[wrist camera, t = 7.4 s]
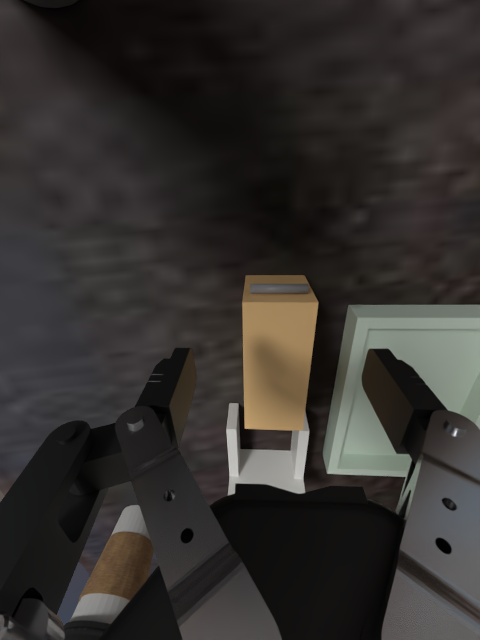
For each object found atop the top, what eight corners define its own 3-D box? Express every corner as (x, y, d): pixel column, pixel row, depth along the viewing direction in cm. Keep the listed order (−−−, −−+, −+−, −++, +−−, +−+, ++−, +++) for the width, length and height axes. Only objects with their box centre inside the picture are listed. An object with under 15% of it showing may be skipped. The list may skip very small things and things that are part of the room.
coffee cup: (119, 493, 39) (49, 653, 26) (174, 509, 40) (133, 669, 27) (111, 521, 43) (45, 672, 30) (161, 534, 44) (119, 686, 31)
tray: (348, 304, 24) (357, 317, 21) (516, 304, 23) (544, 318, 20) (322, 454, 33) (327, 473, 31) (441, 458, 32) (455, 478, 30)
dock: (229, 403, 30) (220, 472, 23) (303, 404, 29) (318, 476, 22) (232, 454, 34) (225, 526, 27) (298, 456, 33) (309, 530, 26)
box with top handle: (245, 266, 23) (242, 291, 17) (305, 266, 22) (319, 291, 17) (247, 383, 29) (244, 428, 23) (294, 384, 28) (302, 430, 23)
